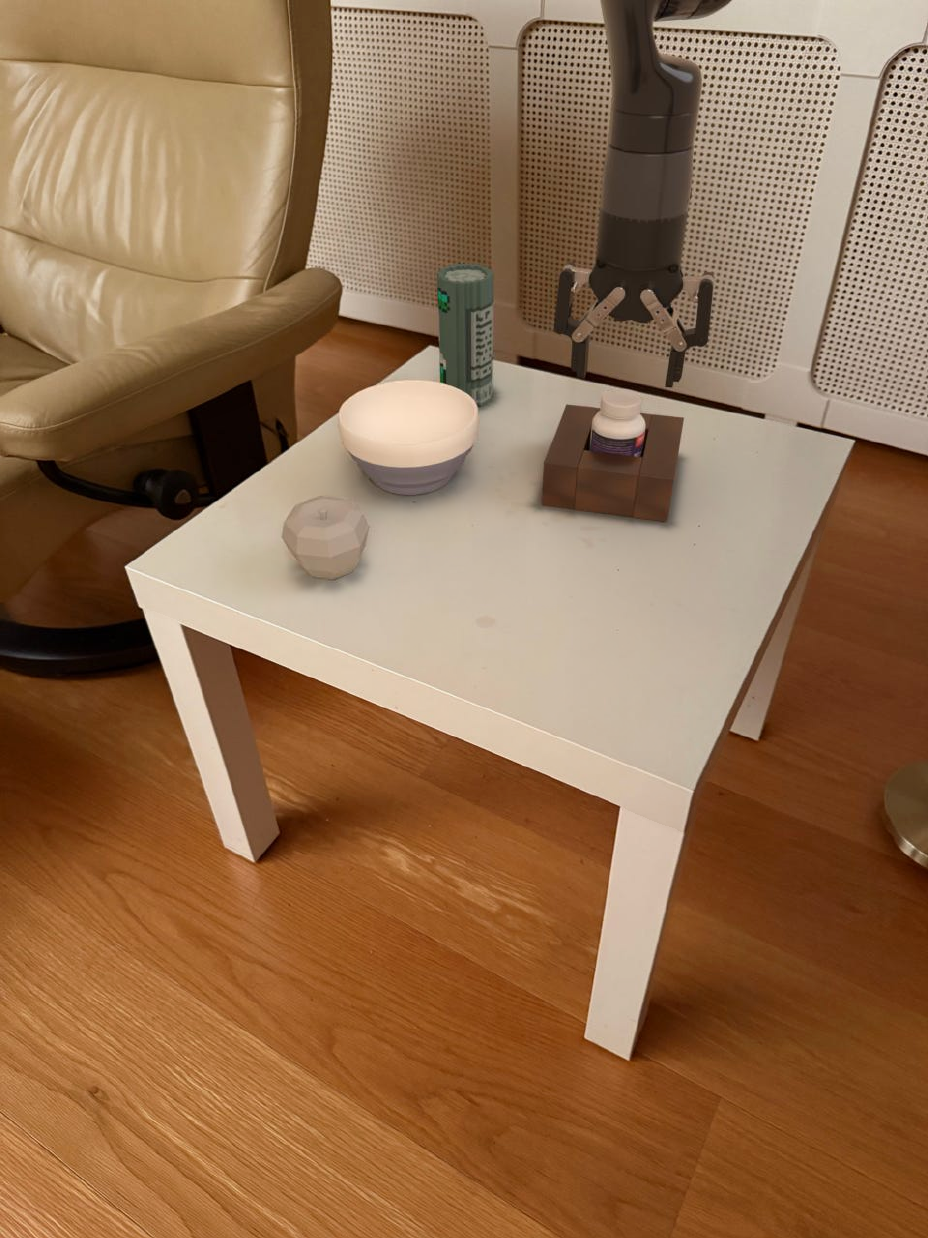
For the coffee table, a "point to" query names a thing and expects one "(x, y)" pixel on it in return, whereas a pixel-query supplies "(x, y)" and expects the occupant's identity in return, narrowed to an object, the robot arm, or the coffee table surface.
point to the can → (466, 329)
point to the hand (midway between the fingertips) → (625, 379)
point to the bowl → (409, 433)
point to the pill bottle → (618, 424)
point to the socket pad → (612, 468)
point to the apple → (326, 536)
